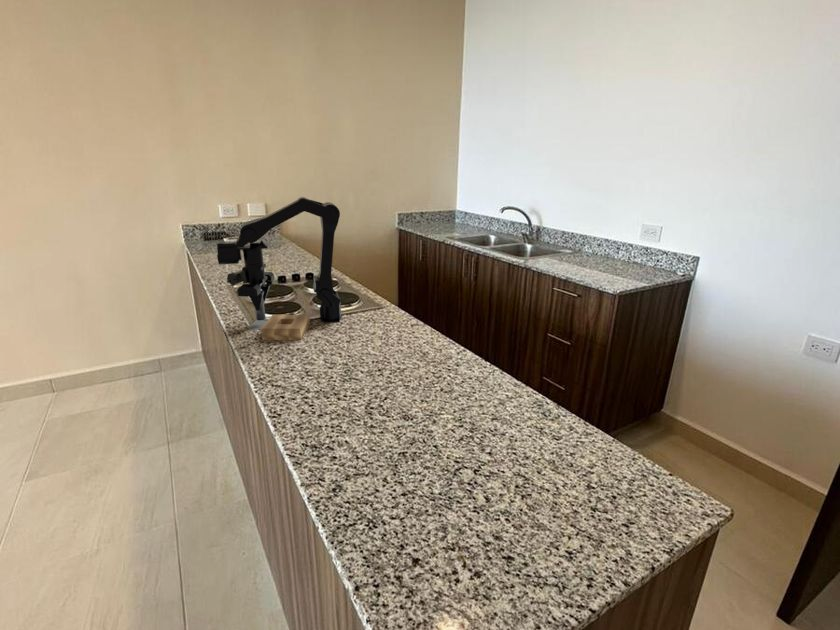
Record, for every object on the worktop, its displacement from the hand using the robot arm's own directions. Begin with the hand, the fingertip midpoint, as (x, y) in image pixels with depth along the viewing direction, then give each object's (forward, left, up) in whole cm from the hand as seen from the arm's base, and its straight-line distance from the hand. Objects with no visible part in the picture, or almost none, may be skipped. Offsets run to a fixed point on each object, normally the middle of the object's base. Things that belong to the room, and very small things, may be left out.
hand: (259, 308), depth 152 cm
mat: (0, 0, -6) cm, 6 cm away
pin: (0, 0, -4) cm, 4 cm away
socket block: (-10, +6, -6) cm, 13 cm away
